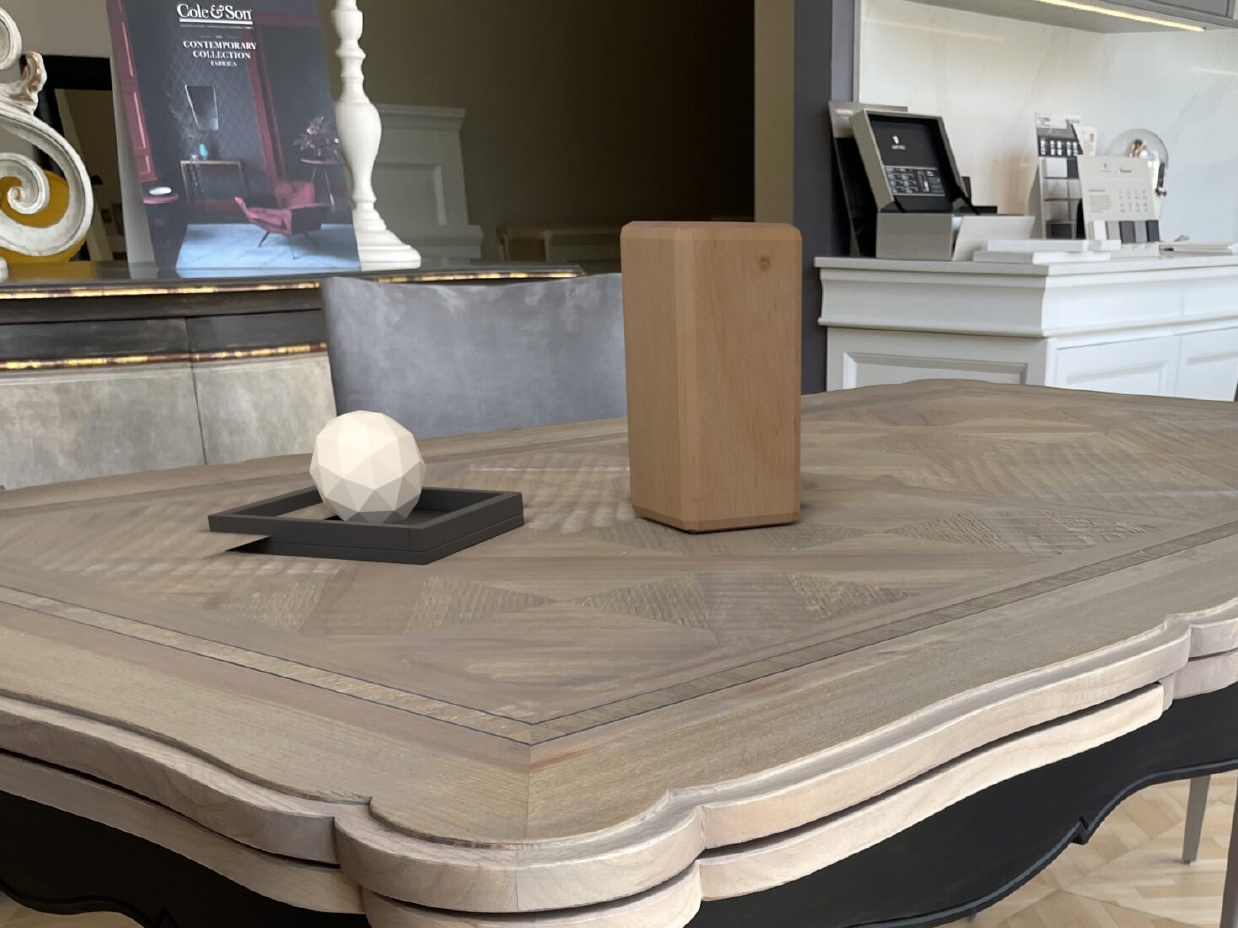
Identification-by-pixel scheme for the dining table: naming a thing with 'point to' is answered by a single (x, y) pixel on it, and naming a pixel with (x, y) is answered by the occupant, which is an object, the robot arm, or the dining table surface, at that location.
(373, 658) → the dining table surface
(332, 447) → the geometric ball
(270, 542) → the tray
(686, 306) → the wooden block
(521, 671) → the dining table surface
